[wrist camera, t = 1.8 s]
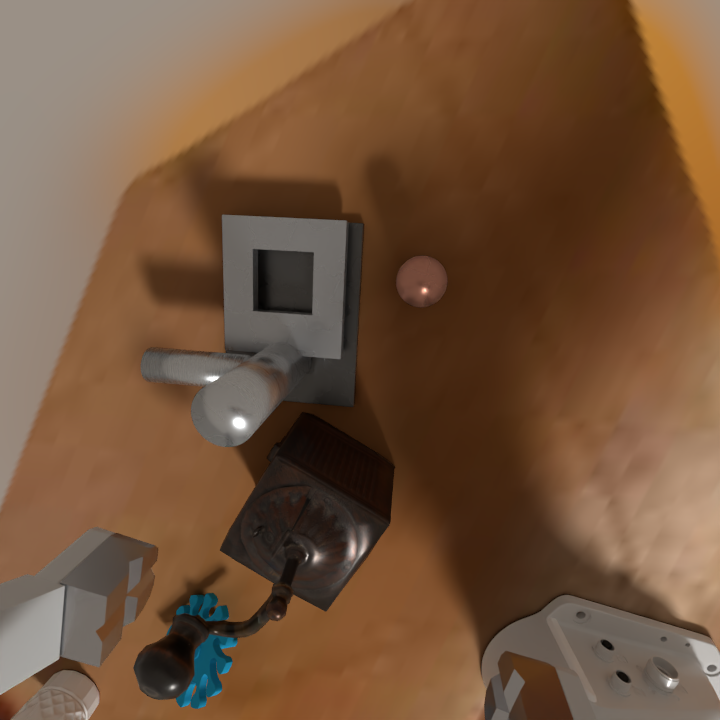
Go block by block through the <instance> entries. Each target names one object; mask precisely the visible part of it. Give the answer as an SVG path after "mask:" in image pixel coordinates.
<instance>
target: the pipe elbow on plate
mask: <svg viewBox="0 0 720 720" xmlns="http://www.w3.org/2000/svg"><path fill="white" fill-rule="evenodd" d="M363 235H364V224H363V223H349V222H348V221H345V220H324V219H303V218H282V217H261V216H240V215H222V240H223V281H224V322H225V350H226V353H217V352H205V351H192V350H180V349H168V348H156V347H151V348H149V349H147V350H146V351H145V353H144V355H143V357H142V361H141V373H142V376H143V378H144V379H145V380H146V381H148V382H158V383H169V384H180V385H191V386H202V387H203V388H202V389H201V390H199V392H198V393H197V394H196V395H195V397H194V399H193V402H192V406H191V416H192V420H193V423H194V425H195V427H196V429H197V430H198V432H199V433H200V434H201V435H202V436H203V437H204V438H205V439H206V440H208V441H209V442H211V443H213V444H215V445H218V446H223V447H233V446H237V445H240V444H242V443H244V442H245V441H247V440H248V439H249V438H250V437H251V436H252V434H253V433H254V432H255V431H256V430H257V429H258V428H259V427H260V426H261V424H262V423H263V422H264V421H265V420H266V419H267V418H268V417H269V415H270V414H271V413H272V412H273V411H274V410H275V409H276V408H277V406H278V405H279V404H280V403H281V402H282V401H293V402H304V403H315V404H325V405H336V406H347V407H354V404H355V385H356V366H357V347H358V329H359V310H360V291H361V272H362V254H363Z"/></svg>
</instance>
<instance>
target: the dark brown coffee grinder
mask: <svg viewBox="0 0 720 720" xmlns="http://www.w3.org/2000/svg"><path fill="white" fill-rule="evenodd" d="M267 459H268V460H269V461H270V462H271V463H270V464H269V466H268V467H267V469H266V471H265V472H264V474H263V475H262V477H261V478H260V480H259V482H258V483H257V485H256V487H255V488H254V490H253V491H252V493H251V495H250V496H249V498H248V499H247V501H246V503H245V504H244V506H243V508H242V509H241V511H240V513H239V514H238V516H237V518H236V519H235V521H234V523H233V524H232V526H231V528H230V529H229V531H228V533H227V535H226V537H225V540H224V542H223V544H222V546H221V548H220V551H222V552H223V553H225V554H226V555H228V556H230V557H231V558H233V559H234V560H236V561H237V562H239V563H241V564H243V565H244V566H246V567H248V568H249V569H251V570H253V571H254V572H256V573H258V574H259V575H261V576H263V577H264V578H266V579H268V580H269V581H271V582H273V583H274V584H273V587H272V593H271V595H270V596H269V598H268V599H267V601H266V602H265V603H264V604H263V605H262V606H261V608H260V609H259V610H258V611H257V612H256V613H255V614H254V615H253V616H252V617H251V618H250V619H249V620H247V621H244V622H227V621H205V620H204V619H203V618H201V616H200V615H196V616H193V615H190V614H186V613H183V614H180V615H176V616H175V617H174V618H173V624H172V626H171V629H170V631H169V634H168V635H167V636H165V637H163V638H162V639H160V640H159V641H157V642H155V643H152V644H150V645H147V646H146V647H145V648H144V649H143V650H142V651H141V652H140V653H139V654H138V657H137V659H136V662H135V665H134V667H133V668H134V671H135V674H136V677H137V681H138V684H139V687H140V690H141V691H142V692H144V693H145V694H146V695H147V696H149V697H151V698H154V699H158V700H165V699H174V698H177V697H179V696H180V695H181V694H182V693H183V692H184V691H186V690H187V689H188V687H189V685H190V683H191V681H192V679H193V677H194V675H195V672H194V656H195V650H196V649H197V648H198V646H199V645H200V644H201V643H203V642H205V641H206V639H207V638H208V636H209V634H212V635H217V636H223V637H231V638H241V637H247V636H249V635H252V634H254V633H256V632H257V631H259V630H260V629H261V628H262V627H263V626H264V625H265V624H266V623H267V622H268V621H269V620H270V619H271V620H274V621H278V620H281V619H282V618H283V617H284V616H285V615H286V611H287V604H289V603H290V600H291V597H292V596H293V594H294V595H295V596H297V597H299V598H301V599H303V600H305V601H307V602H309V603H311V604H313V605H314V606H316V607H318V608H320V609H322V610H324V611H327V610H328V608H329V607H330V606H331V604H332V603H333V602H334V600H335V599H336V598H337V596H338V595H339V593H340V592H341V591H342V589H343V588H344V587H345V585H346V584H347V583H348V581H349V580H350V579H351V578H352V576H353V575H354V574H355V572H356V571H357V570H358V569H359V567H360V566H361V565H362V563H363V562H364V561H365V560H366V558H367V557H368V555H369V554H370V552H371V551H372V549H373V548H374V546H375V544H376V543H377V541H378V540H379V538H380V537H381V535H382V534H383V533H384V531H385V530H386V529H387V527H388V526H389V524H390V521H391V503H392V490H393V477H394V469H395V466H394V465H393V464H392V463H390V462H389V461H388V460H386V459H385V458H384V457H382V456H381V455H379V454H378V453H376V452H375V451H373V450H372V449H370V448H368V447H367V446H365V445H363V444H362V443H360V442H358V441H357V440H355V439H353V438H352V437H350V436H348V435H347V434H345V433H344V432H342V431H340V430H339V429H337V428H335V427H334V426H332V425H330V424H329V423H327V422H325V421H323V420H322V419H320V418H318V417H317V416H315V415H312V414H308V413H304V412H302V413H301V415H300V416H299V418H298V419H297V421H296V422H295V423H294V425H293V426H292V428H291V429H290V431H289V432H288V433H287V435H286V436H285V437H284V438H283V440H282V441H281V442H280V443H276V444H275V445H274V447H273V448H272V450H271V452H270V453H269V455H268V456H267Z"/></svg>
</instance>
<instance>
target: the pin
mask: <svg viewBox="0 0 720 720" xmlns="http://www.w3.org/2000/svg"><path fill="white" fill-rule="evenodd" d="M396 287H397V290H398V293H399V295H400V296H401V298H402V299H403V300H404V301H405V302H406V303H408V304H410V305H412V306H415V307H427V306H430V305H433V304H434V303H436V302H437V301H439V300H440V299H441V297H442V296H443V295H444V293H445V291H446V288H447V274H446V271H445V269H444V267H443V266H442V264H441V263H440V262H439V261H437V260H436V259H434V258H432V257H429V256H415V257H412V258H410V259H409V260H407V261H406V262H405V263H404V264H403V265H402V266H401V268H400V269H399V271H398V274H397V278H396Z"/></svg>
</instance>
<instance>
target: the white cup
mask: <svg viewBox="0 0 720 720" xmlns="http://www.w3.org/2000/svg"><path fill="white" fill-rule="evenodd" d="M98 704H99V691H98V689H97V687H96V686H95V684H94V683H93V682H92V681H91V680H90V679H89V678H88V677H87V676H86V675H83V674H81V673H79V672H77V671H73V670H62V671H60V672H57V673H55V674H54V675H53V676H52V677H51V678H50V679H49V680H48V681H47V682H46V683H45V684H44V685H43V687H42V688H41V689H40V690H39V691H38V692H37V693H36V694H35V695H34V696H33V697H32V698H30V699H29V701H28V702H27V703H26V704H25V705H24V706H23V707H22V708H21V709H20V710H19V711H18V712H17V713H16V714H15V715H14V716H13V717H12V718H11V719H10V720H88V719H89V718H90V716H91V715H92V713H93V712H94V710H95V709H96V707H97V706H98Z"/></svg>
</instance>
